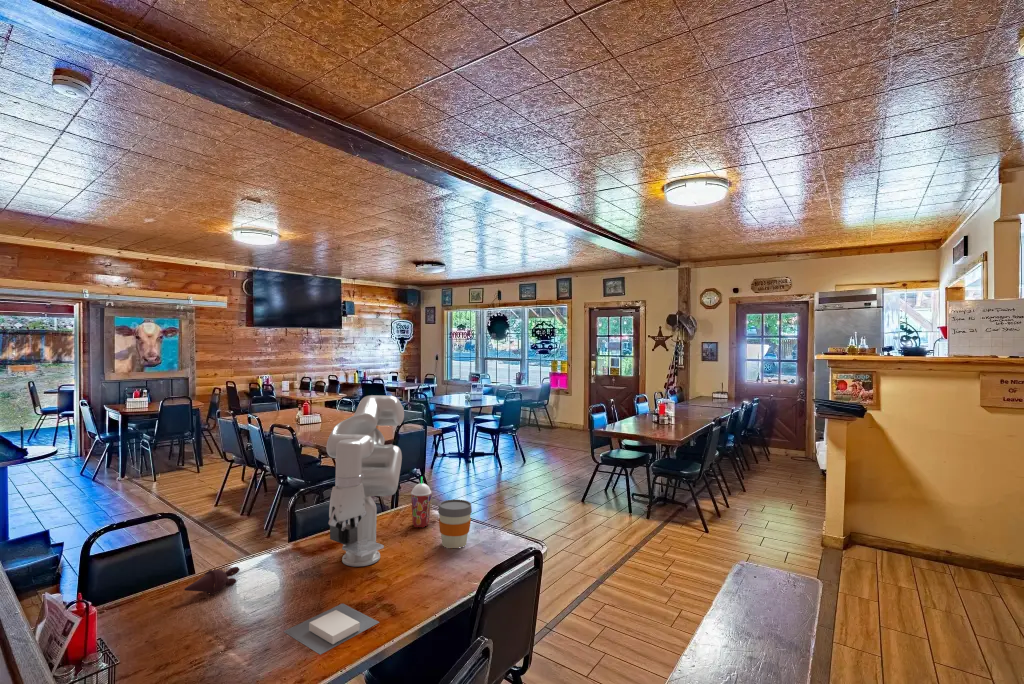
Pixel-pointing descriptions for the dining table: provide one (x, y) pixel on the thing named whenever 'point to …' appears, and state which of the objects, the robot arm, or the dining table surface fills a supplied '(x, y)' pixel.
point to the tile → (334, 626)
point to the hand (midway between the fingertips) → (347, 540)
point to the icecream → (214, 581)
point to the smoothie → (421, 504)
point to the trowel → (355, 541)
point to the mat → (318, 643)
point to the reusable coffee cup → (454, 522)
